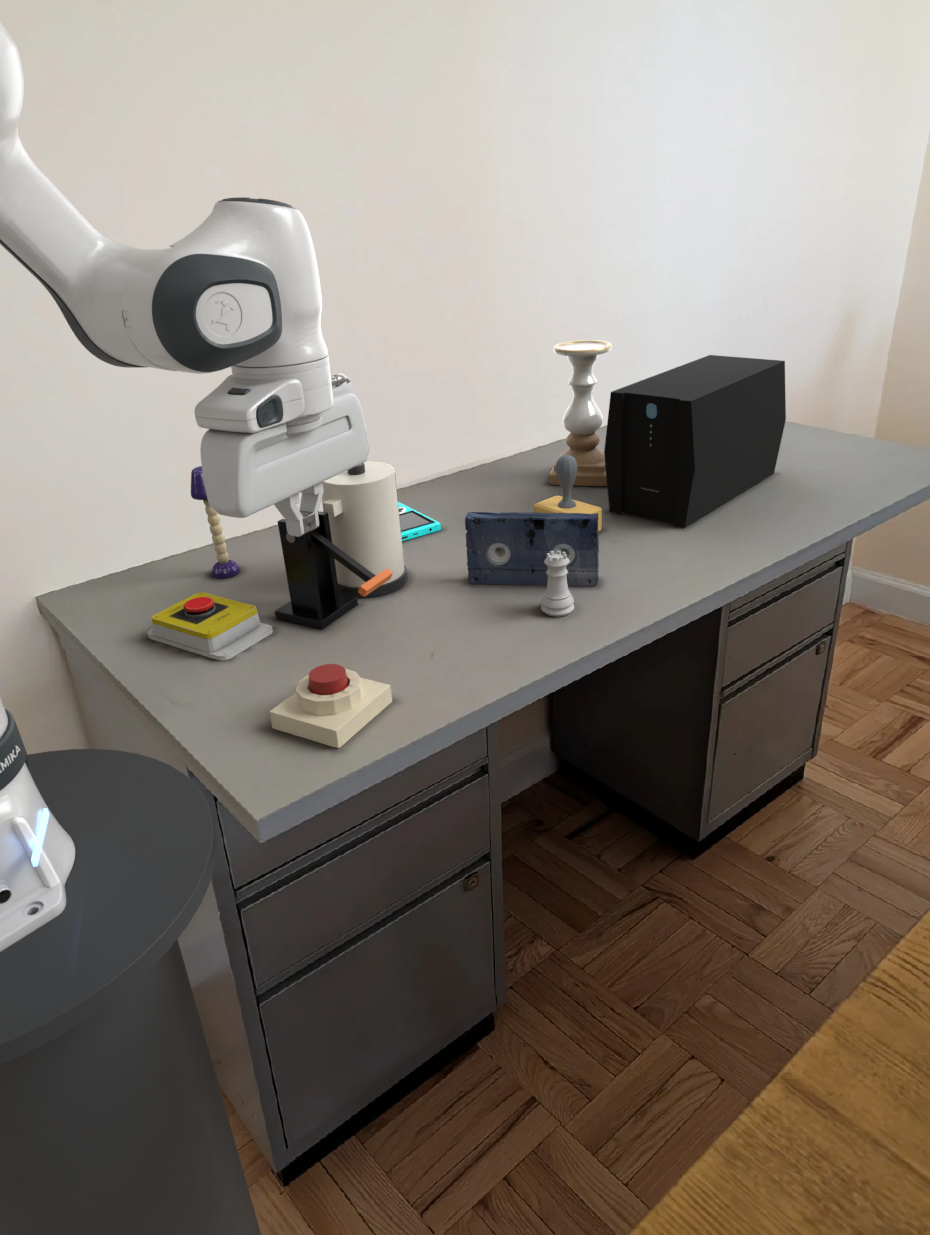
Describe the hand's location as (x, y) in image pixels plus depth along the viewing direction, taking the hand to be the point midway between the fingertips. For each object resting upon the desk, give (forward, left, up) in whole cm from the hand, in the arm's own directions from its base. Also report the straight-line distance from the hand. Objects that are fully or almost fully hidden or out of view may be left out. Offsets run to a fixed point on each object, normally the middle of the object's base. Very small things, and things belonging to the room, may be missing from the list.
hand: (303, 531), depth 89 cm
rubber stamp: (+61, -1, -22) cm, 65 cm away
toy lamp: (+25, +40, -22) cm, 52 cm away
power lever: (+20, +14, -13) cm, 28 cm away
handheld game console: (+52, +27, -22) cm, 63 cm away
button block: (0, 0, -22) cm, 22 cm away
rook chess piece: (+33, -12, -22) cm, 42 cm away
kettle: (+31, +17, -22) cm, 42 cm away
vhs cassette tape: (+40, -5, -22) cm, 46 cm away
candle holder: (+86, +7, -22) cm, 89 cm away
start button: (0, 0, -18) cm, 18 cm away
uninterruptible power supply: (+85, -15, -22) cm, 89 cm away
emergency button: (+9, +27, -22) cm, 36 cm away
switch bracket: (+20, +18, -22) cm, 35 cm away
